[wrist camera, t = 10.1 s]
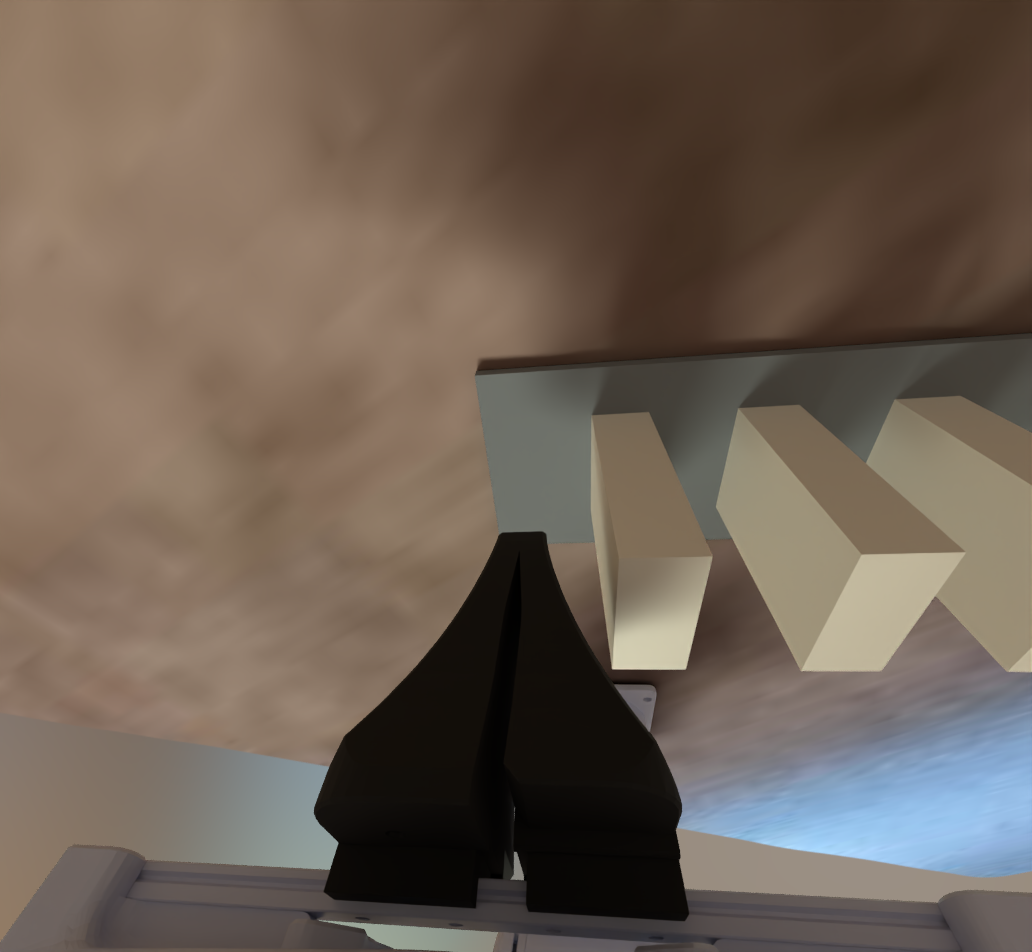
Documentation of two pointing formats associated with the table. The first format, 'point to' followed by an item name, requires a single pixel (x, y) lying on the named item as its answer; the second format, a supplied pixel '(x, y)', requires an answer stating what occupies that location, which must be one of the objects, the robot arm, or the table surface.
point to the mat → (716, 413)
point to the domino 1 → (644, 545)
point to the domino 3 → (970, 510)
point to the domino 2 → (828, 541)
